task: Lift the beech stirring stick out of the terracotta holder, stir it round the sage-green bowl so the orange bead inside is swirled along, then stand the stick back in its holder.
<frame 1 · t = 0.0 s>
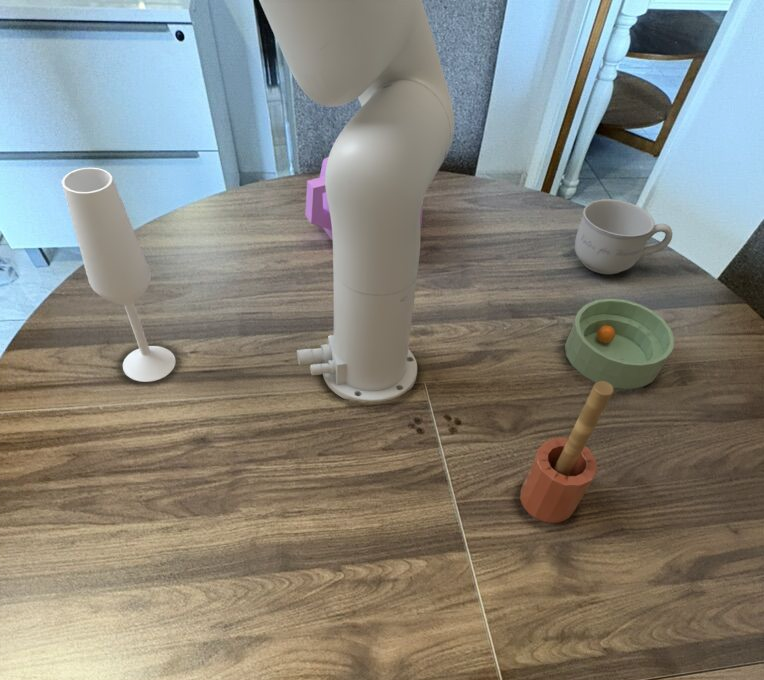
teacup: (610, 266, 99), on the table
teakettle: (369, 229, 100), on the table
champagne flute: (149, 364, 80), on the table
stick: (547, 499, 71), point 1 cm above the table, touching holder
bead: (605, 334, 86), point 2 cm above the table, touching bowl
bowl: (610, 358, 86), on the table
holder: (545, 503, 72), on the table
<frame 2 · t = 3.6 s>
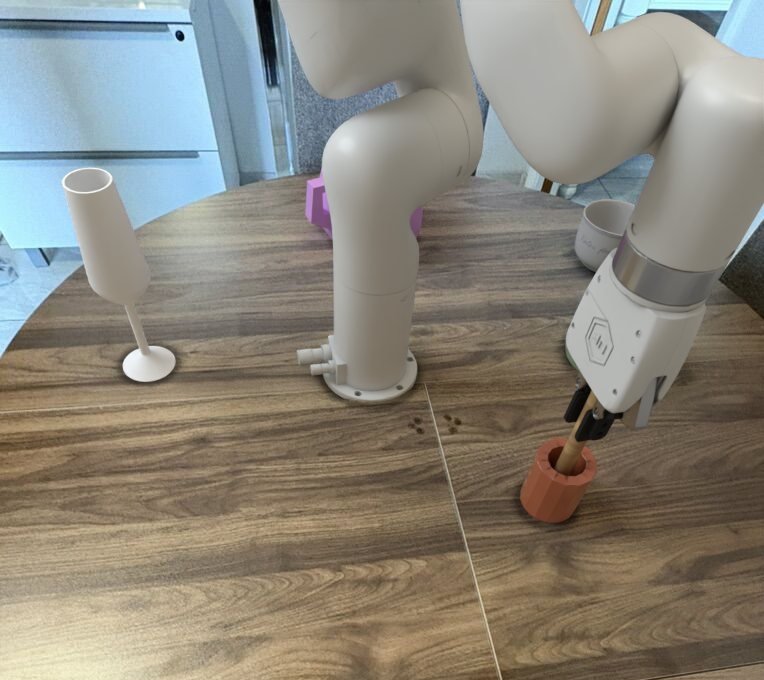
hand: (584, 427, 61), 13 cm above the table, tool pointing down, fingers closed on stick, 1 cm apart
stick: (547, 499, 71), point 1 cm above the table, touching gripper, holder
everything else where it was.
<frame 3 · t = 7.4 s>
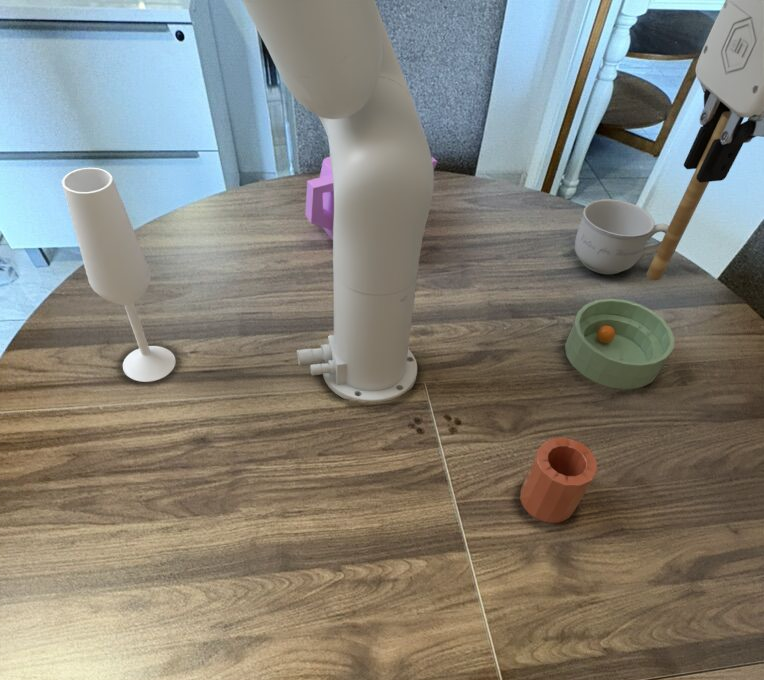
hand: (703, 172, 64), 26 cm above the table, tool pointing down, fingers closed on stick
stick: (653, 276, 75), point 14 cm above the table, touching gripper
everything else where it was.
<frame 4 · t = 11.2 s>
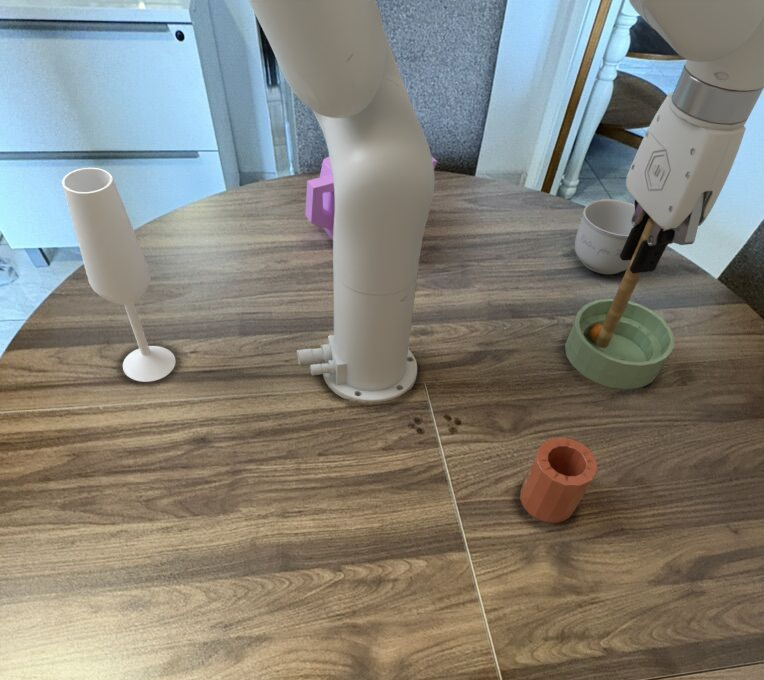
hand: (636, 263, 74), 15 cm above the table, tool pointing down, fingers closed on stick, 1 cm apart
stick: (602, 343, 85), point 2 cm above the table, touching gripper
bead: (598, 333, 86), point 2 cm above the table, tilted 50°, touching bowl
everything else where it was.
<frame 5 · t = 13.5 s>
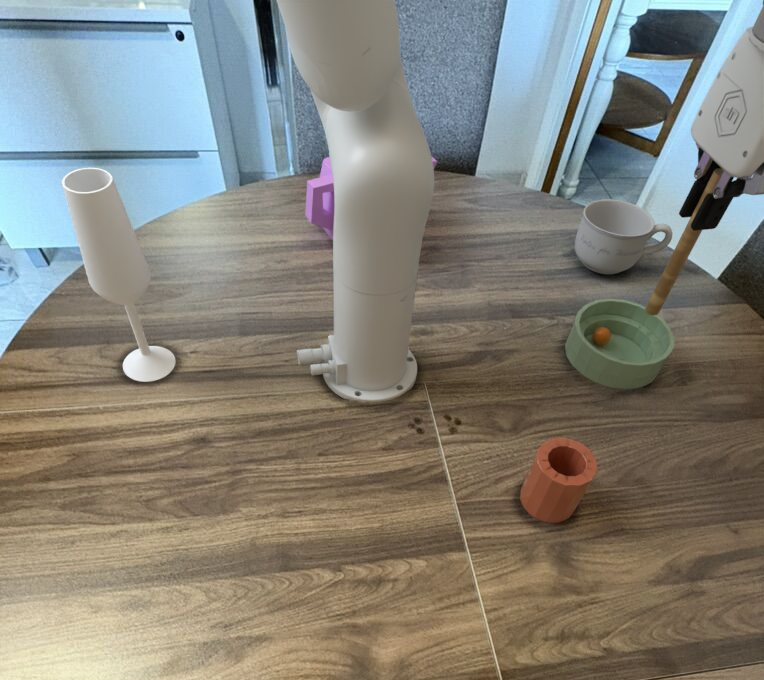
hand: (697, 220, 70), 20 cm above the table, tool pointing down, fingers closed on stick
stick: (651, 310, 80), point 8 cm above the table, touching gripper
bead: (601, 336, 86), point 2 cm above the table, tilted 32°, touching bowl
everything else where it was.
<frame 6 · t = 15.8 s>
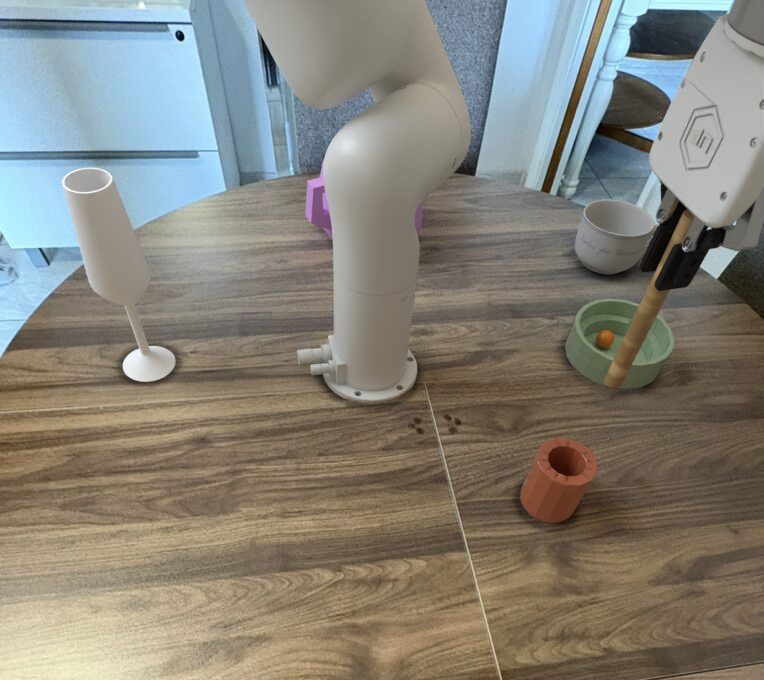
hand: (663, 276, 52), 27 cm above the table, tool pointing down, fingers closed on stick
stick: (612, 382, 63), point 15 cm above the table, touching gripper
bead: (605, 339, 86), point 2 cm above the table, tilted 39°, touching bowl
everything else where it was.
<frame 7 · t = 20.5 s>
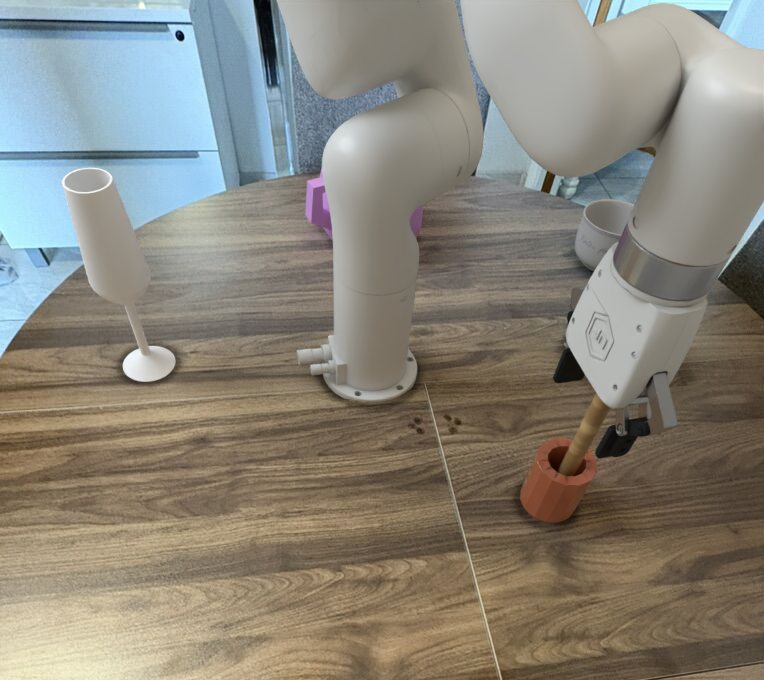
hand: (587, 415, 59), 15 cm above the table, tool pointing down, fingers open, 9 cm apart
stick: (552, 499, 71), point 1 cm above the table, touching holder
bead: (612, 345, 85), point 2 cm above the table, tilted 92°, touching bowl
everything else where it was.
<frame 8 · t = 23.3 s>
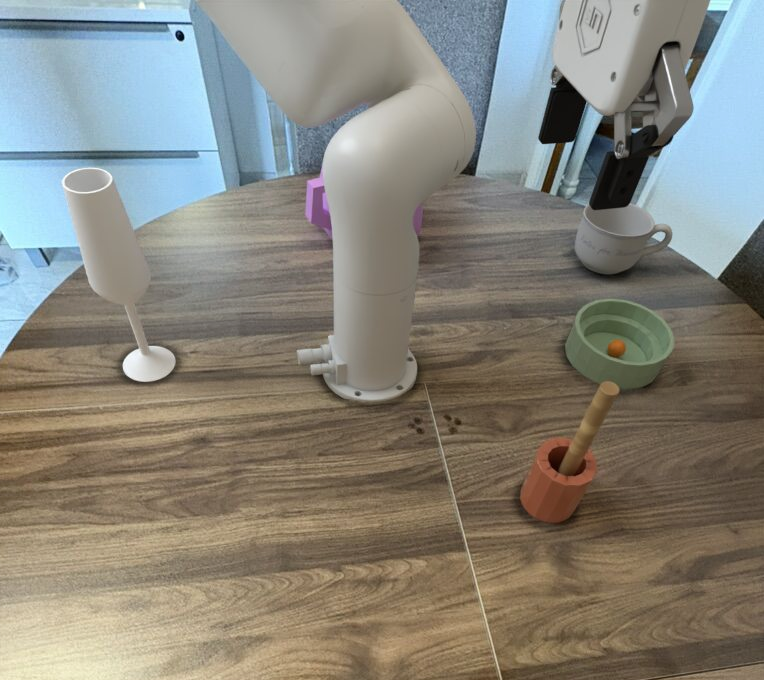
hand: (580, 172, 49), 33 cm above the table, tool pointing down, fingers open, 9 cm apart
bead: (616, 348, 85), point 2 cm above the table, tilted 126°, touching bowl
everything else where it was.
at the end: bead moved 3.1 cm from its start; bead inside the target area in the bowl (0.2 cm from its centre), point 1.8 cm above the bowl's base; stick 0.5 cm off-centre in the holder, point 0.8 cm above the holder's base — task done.
